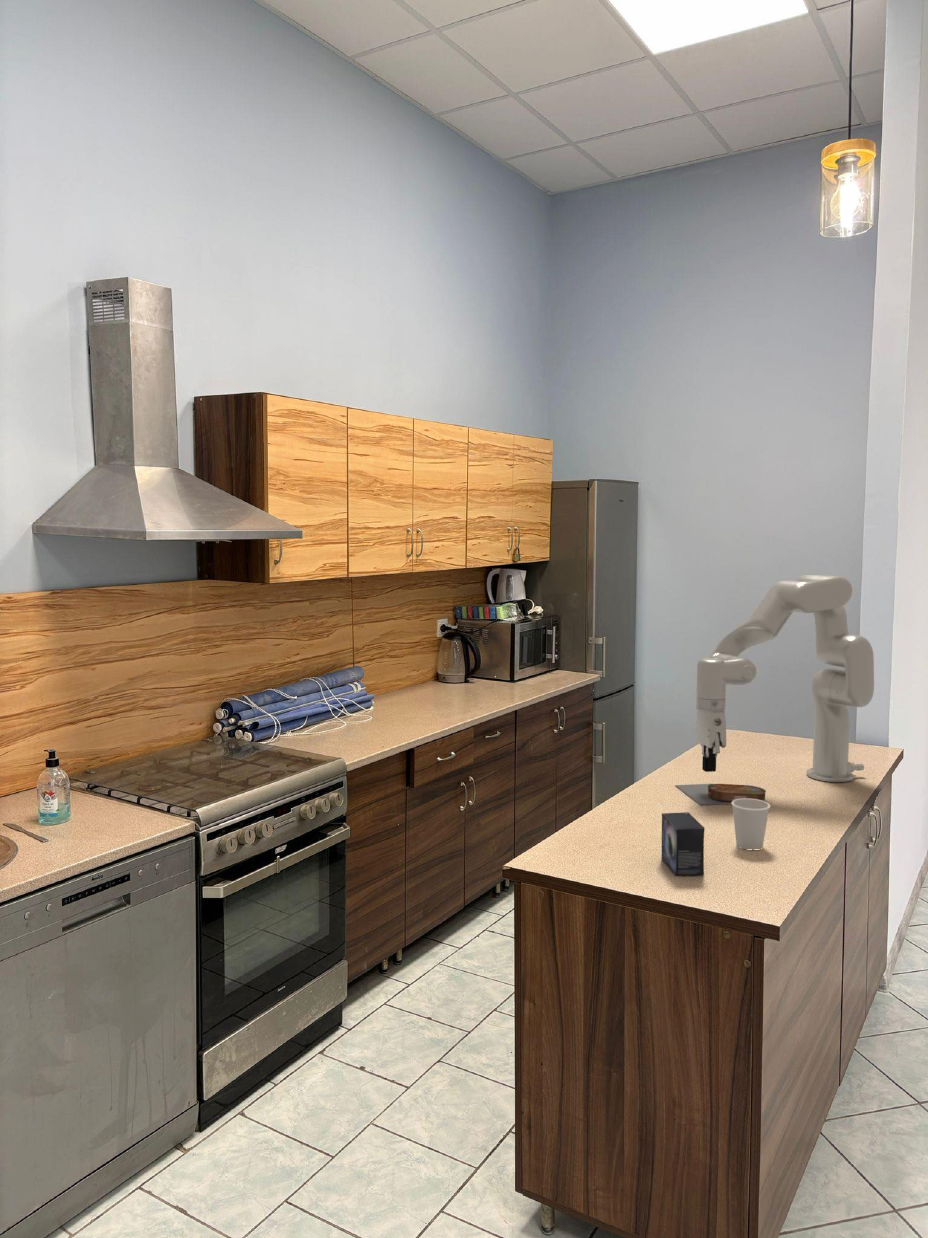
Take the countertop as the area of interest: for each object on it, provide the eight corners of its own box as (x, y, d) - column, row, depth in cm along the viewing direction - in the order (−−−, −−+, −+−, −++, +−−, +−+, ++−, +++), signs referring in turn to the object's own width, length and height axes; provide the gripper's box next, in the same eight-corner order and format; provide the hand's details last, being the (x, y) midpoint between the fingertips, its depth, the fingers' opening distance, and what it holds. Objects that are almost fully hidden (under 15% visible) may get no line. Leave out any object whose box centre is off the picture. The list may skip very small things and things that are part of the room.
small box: (659, 859, 197) (660, 812, 196) (688, 858, 198) (689, 811, 197) (674, 877, 187) (675, 828, 186) (704, 876, 187) (706, 827, 186)
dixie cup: (763, 855, 199) (765, 811, 198) (725, 848, 203) (727, 805, 202) (772, 844, 206) (774, 801, 205) (736, 838, 210) (737, 796, 210)
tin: (760, 785, 245) (770, 792, 236) (760, 797, 245) (769, 804, 236) (704, 782, 245) (712, 789, 237) (704, 794, 245) (711, 801, 237)
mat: (712, 784, 255) (712, 783, 255) (740, 803, 237) (740, 802, 237) (675, 786, 253) (675, 785, 253) (700, 805, 235) (700, 804, 235)
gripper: (736, 709, 236) (734, 777, 238) (712, 698, 251) (711, 763, 252) (708, 710, 235) (706, 779, 237) (686, 699, 250) (685, 764, 251)
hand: (709, 770), depth 245 cm, fingers closed
